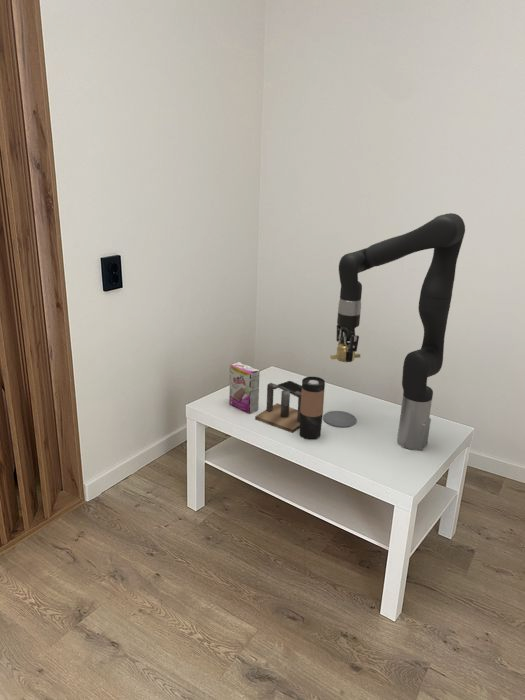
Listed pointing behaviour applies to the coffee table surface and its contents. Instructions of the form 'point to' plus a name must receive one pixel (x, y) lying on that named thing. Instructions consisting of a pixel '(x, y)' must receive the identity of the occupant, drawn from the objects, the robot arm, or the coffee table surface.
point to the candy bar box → (244, 387)
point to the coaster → (339, 419)
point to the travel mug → (311, 407)
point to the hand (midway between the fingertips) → (345, 358)
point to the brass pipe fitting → (343, 353)
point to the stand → (281, 411)
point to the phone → (290, 387)
